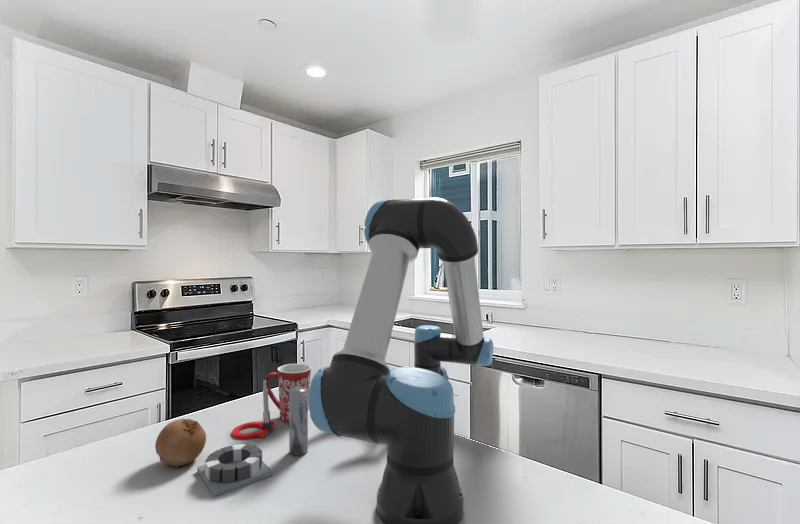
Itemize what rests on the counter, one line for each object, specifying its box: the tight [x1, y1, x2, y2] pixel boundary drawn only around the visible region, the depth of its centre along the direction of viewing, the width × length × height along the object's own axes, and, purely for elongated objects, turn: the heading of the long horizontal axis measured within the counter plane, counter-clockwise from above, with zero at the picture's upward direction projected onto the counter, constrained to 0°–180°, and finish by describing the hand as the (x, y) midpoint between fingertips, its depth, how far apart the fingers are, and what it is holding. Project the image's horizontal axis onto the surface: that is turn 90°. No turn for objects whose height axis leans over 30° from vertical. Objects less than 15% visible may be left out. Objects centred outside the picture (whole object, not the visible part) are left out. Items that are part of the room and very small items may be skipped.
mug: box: [265, 363, 312, 423], centre depth 111 cm, size 13×9×14 cm
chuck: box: [196, 443, 273, 497], centre depth 82 cm, size 11×11×4 cm
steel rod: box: [288, 387, 309, 457], centre depth 91 cm, size 4×4×14 cm
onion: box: [154, 418, 207, 469], centre depth 87 cm, size 10×9×10 cm
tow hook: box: [231, 379, 275, 440], centre depth 102 cm, size 8×13×9 cm
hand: (333, 406), depth 97 cm, fingers open, 13 cm apart
